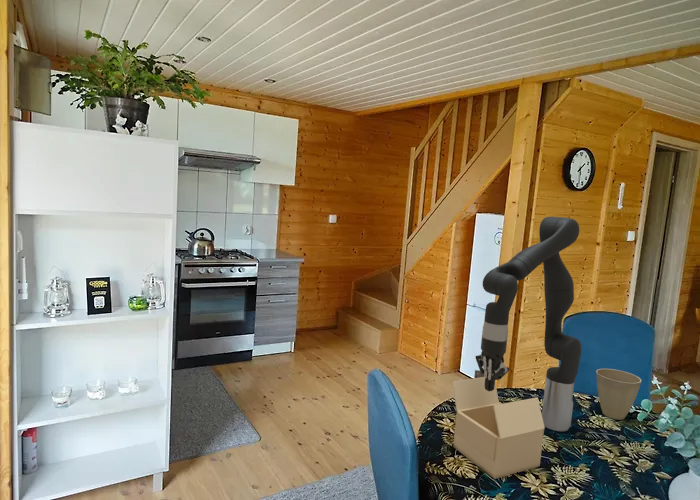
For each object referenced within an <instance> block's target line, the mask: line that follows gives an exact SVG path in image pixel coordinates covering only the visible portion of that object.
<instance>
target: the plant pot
mask: <svg viewBox="0 0 700 500" xmlns="http://www.w3.org/2000/svg"><path fill="white" fill-rule="evenodd" d="M595 373H596V388H597V389H596V390H597V394H598V399H599V400H598V401H599V405H600V408H601V411H602V412H601V413H602V415H604V416H605V417H607V418H610V419H612V420H619V421H621V420H625V418H626V417H627V416H628V413H629V412H630V411H631V408H632V407H633V405H634V403H635V400H636V398H637V396H638V394H639V393H638V392H639V390H640V386H641V383H642V379H641V378H640V377H639V376H638V375H635V374H633V373H631V372H627V371H624V370H619V369H615V368H614V369H613V368H599V369H596V371H595Z"/></svg>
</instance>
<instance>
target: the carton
mask: <svg viewBox="0 0 700 500" xmlns="http://www.w3.org/2000/svg"><path fill="white" fill-rule="evenodd" d="M499 404H502V403H501V402H499V403H496V404H490V405H485V406H479V407H474V408H469V409H463V410H458V411H457V410H456V414H455V415H456V417H455V427H454V436H453V448H454V449H456V450H457V451H458V452H459V453H461V454H462V455H463V456H465V458H467V459H468V460H470V462H472V463H473V464H475V465H476V466H478V467H479V469H481V470H483V472H485V473H486V474H487V475H489V476H490V477H491V478H493V479H494V480H495V479H500V478H503V477H506V476H510V474H511V475H514V474H517V472H518V473H520V472H523V471H528V470H531V469H534V468H538V467H541V466H540V465H541V458H542V457H541V456H542V449H543V441H544V433H545V429H540V430H536V431H532V432H527V433H523V434H519V435H515V436H510V437H506V438H502V439H500V437H499V433H498V428H497V423H496V418H495V413H494V408H493V406H494V405H499ZM513 473H514V474H513Z"/></svg>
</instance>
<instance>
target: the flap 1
mask: <svg viewBox="0 0 700 500" xmlns="http://www.w3.org/2000/svg"><path fill="white" fill-rule="evenodd" d="M451 385H452V390H453V391H452V392H453V396H454V402H455V407H456V412H457V411H458V410H463V409H469V408H474V407H479V406H485V405H490V404H496V403H500V401H499V396H498V391H497V385H496V383H495V386H494V390H493V391H487V390H485V377H480V378H474V377H473V378H467V379H466V378H465V379H461V380H454V381H453V380H452V381H451Z"/></svg>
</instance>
